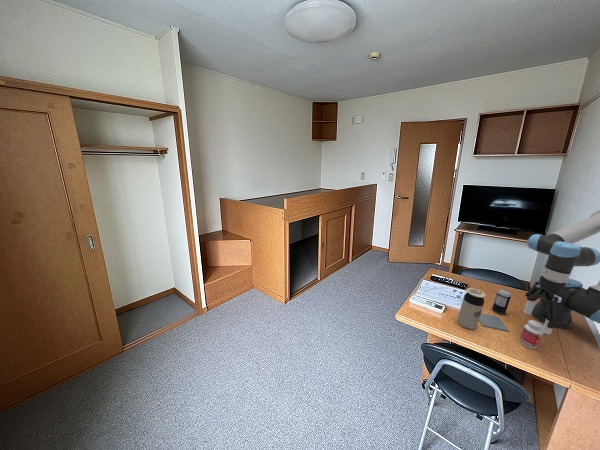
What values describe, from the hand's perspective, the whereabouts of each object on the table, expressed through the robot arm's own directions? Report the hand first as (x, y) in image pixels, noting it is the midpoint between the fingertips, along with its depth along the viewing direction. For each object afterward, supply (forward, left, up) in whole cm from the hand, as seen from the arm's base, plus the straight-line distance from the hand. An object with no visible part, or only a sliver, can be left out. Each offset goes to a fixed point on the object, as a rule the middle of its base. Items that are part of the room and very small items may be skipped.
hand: (535, 322), depth 105 cm
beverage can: (+2, -24, -12) cm, 27 cm away
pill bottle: (0, 0, -12) cm, 12 cm away
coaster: (+10, -12, -11) cm, 19 cm away
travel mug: (+22, -6, -12) cm, 26 cm away
